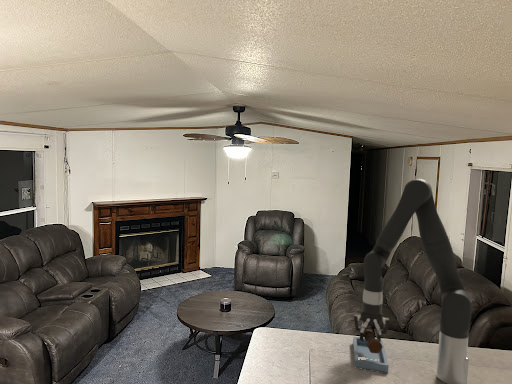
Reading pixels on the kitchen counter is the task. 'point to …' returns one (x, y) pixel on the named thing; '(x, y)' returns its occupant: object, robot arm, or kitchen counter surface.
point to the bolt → (372, 341)
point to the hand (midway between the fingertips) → (369, 341)
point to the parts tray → (369, 356)
